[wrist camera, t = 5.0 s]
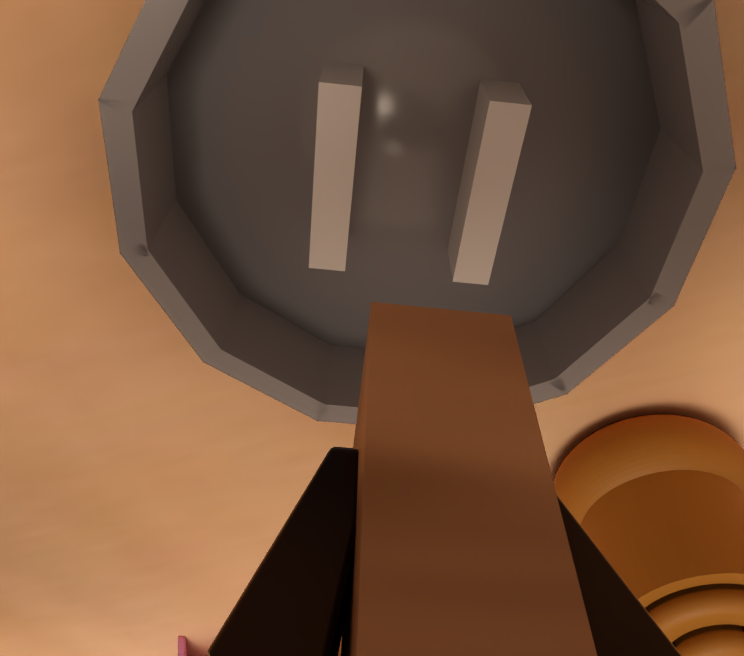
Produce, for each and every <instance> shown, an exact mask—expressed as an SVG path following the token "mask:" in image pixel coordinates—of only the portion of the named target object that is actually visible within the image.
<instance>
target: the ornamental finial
mask: <svg viewBox="0 0 744 656" xmlns="http://www.w3.org/2000/svg"><path fill="white" fill-rule="evenodd" d="M553 483H554V487H555V491H556V494H557V496H558V497H559V498H560V500H561V501H562V502H563V503H564V505H565V506H566V507H567V509H568V510H569V511H570V512H571V514H572V515H573V516H574V518H575V519H576V520H577V521H578V523H579V524H580V525H581V527H582V528H583V529H584V531H585V532H586V533H587V534H588V536H589V537H590V538H591V540H592V541H593V542H594V543H595V545H596V546H597V547H598V549H599V550H600V551H601V552H602V554H603V555H604V556H605V558H606V559H607V560H608V561H609V563H610V564H611V565H612V567H613V568H614V569H615V570H616V572H617V573H618V574H619V576H620V577H621V578H622V580H623V581H624V582H625V583H626V585H627V586H628V587H629V589H630V590H631V591H632V592H633V594H634V595H635V596H636V598H637V599H638V600H639V601H640V603H641V604H642V605H643V607H644V608H645V609H646V610H647V612H648V613H649V614H650V616H651V617H652V618H653V619H654V621H655V622H656V623H657V625H658V626H659V627H660V628H661V630H662V631H663V632H664V634H665V635H666V636H667V638H668V639H669V640H670V641H671V643H672V644H673V645H674V647H675V648H676V649H677V650H678V652H679V653H680V654H681V656H744V450H743V449H742V448H741V446H740V445H739V444H738V443H737V442H736V441H735V440H734V439H733V438H731V437H730V436H729V435H728V434H726V433H725V432H723V431H722V430H720V429H718V428H717V427H715V426H713V425H711V424H708V423H706V422H703V421H700V420H697V419H694V418H690V417H685V416H679V415H646V416H639V417H634V418H629V419H626V420H622V421H619V422H616V423H613V424H611V425H608V426H606V427H604V428H602V429H600V430H598V431H596V432H595V433H593V434H591V435H590V436H588V437H587V438H585V439H584V440H583V441H582V442H580V443H579V444H578V445H577V446H576V447H575V448H574V449H573V450H572V451H571V452H570V453H569V454H568V455H567V457H566V458H565V459H564V461H563V462H562V464H561V465H560V467H559V469H558V471H557V473H556V476H555V478H554V481H553Z"/></svg>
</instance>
